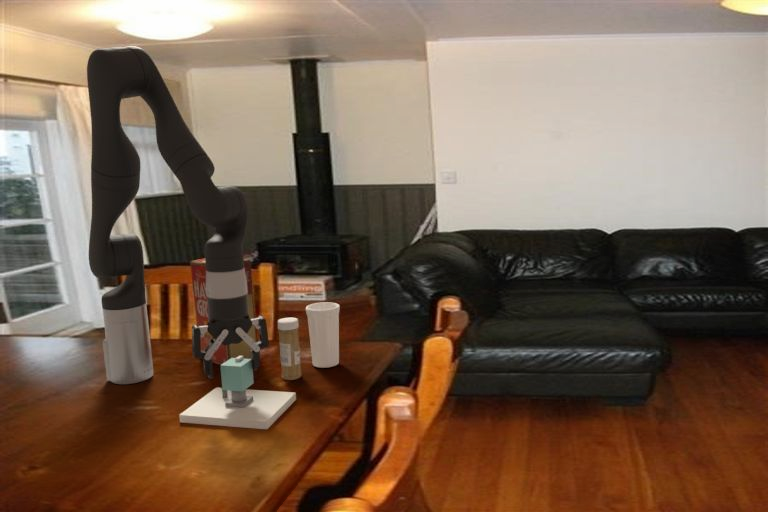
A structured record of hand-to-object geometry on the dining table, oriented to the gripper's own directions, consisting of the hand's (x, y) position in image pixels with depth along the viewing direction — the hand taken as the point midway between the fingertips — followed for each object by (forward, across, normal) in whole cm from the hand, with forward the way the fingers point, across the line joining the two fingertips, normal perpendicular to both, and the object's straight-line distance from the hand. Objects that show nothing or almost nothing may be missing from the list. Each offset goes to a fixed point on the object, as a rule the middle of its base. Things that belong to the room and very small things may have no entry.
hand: (233, 373), depth 121 cm
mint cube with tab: (+3, +1, 0) cm, 3 cm away
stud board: (+8, +1, 0) cm, 8 cm away
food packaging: (+9, +5, +34) cm, 35 cm away
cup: (+8, +25, +16) cm, 31 cm away
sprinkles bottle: (+8, +15, +13) cm, 21 cm away
